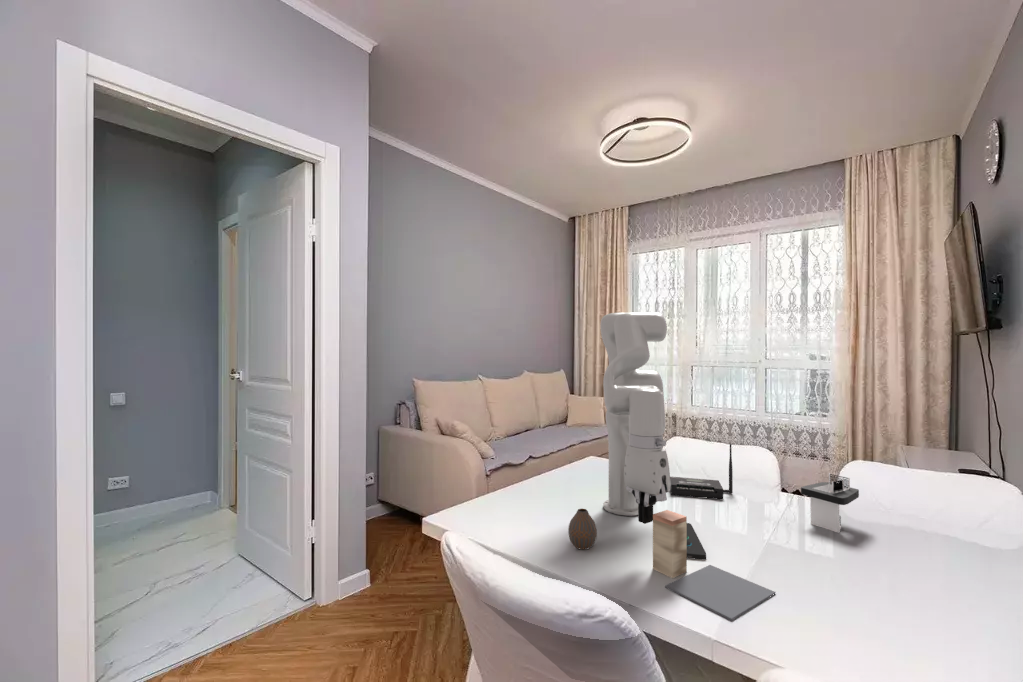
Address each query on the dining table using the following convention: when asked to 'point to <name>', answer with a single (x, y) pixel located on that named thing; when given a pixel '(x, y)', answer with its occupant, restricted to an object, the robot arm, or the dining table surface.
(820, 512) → the black-topped pedestal
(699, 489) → the black wifi router
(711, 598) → the mat
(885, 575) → the dining table surface
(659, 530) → the maple block
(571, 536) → the vase
